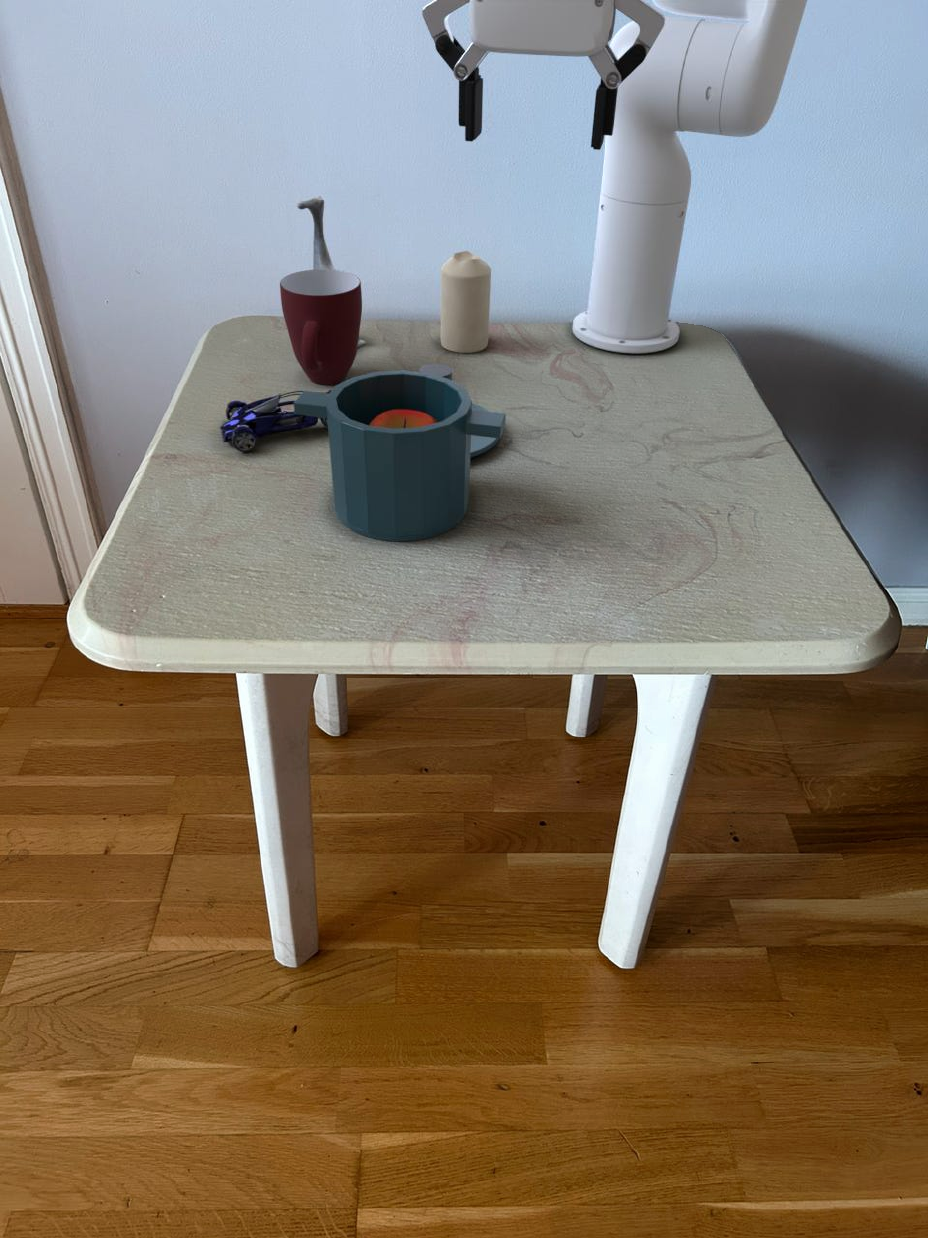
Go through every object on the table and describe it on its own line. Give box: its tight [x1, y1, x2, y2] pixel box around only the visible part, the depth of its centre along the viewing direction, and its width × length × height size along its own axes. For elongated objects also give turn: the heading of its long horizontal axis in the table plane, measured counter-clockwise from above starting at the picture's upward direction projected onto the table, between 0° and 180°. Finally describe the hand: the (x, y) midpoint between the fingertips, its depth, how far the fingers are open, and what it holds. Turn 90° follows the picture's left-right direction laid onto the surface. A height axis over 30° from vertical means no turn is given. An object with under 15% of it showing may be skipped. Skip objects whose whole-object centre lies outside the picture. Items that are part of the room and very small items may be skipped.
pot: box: [293, 370, 507, 542], centre depth 73 cm, size 11×17×10 cm
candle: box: [440, 250, 492, 354], centre depth 100 cm, size 6×6×10 cm
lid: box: [418, 363, 500, 459], centre depth 83 cm, size 12×12×7 cm
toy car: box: [219, 389, 332, 453], centre depth 84 cm, size 12×6×4 cm, turn 107°
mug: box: [279, 269, 363, 385], centre depth 91 cm, size 11×8×10 cm
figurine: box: [296, 196, 366, 349], centre depth 98 cm, size 11×6×15 cm, turn 14°
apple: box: [369, 410, 438, 429], centre depth 73 cm, size 6×6×8 cm
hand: (534, 141), depth 69 cm, fingers open, 9 cm apart
